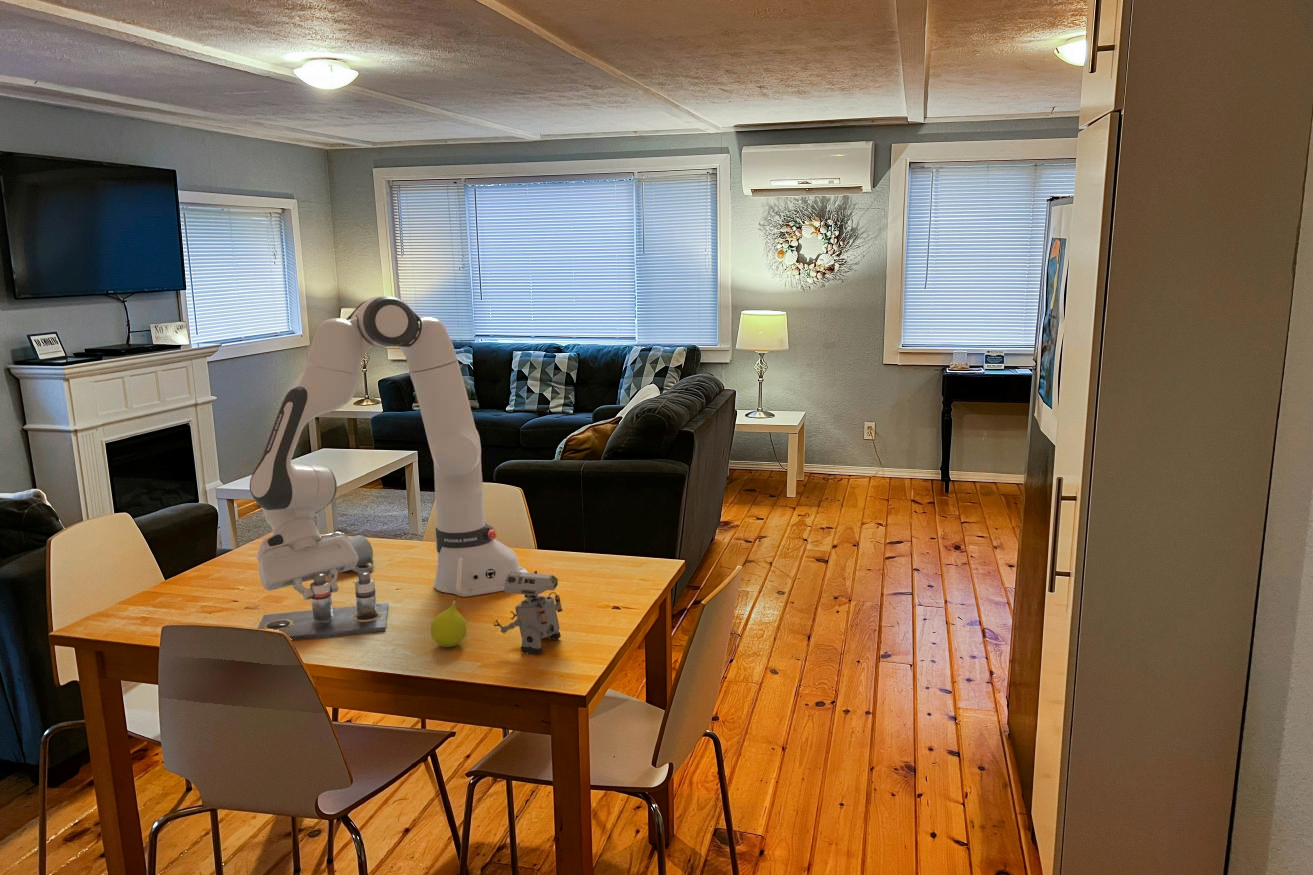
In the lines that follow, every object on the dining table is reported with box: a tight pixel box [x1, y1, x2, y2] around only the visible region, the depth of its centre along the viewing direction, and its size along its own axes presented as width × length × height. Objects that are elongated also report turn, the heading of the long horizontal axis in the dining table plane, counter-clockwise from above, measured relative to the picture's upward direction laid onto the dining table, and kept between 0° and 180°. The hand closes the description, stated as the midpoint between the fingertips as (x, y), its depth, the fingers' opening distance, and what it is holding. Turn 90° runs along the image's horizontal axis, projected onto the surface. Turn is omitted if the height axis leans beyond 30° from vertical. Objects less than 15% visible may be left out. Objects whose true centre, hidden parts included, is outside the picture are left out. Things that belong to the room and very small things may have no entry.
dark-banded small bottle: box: [354, 571, 377, 619], centre depth 199 cm, size 4×4×10 cm
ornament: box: [430, 594, 468, 648], centre depth 185 cm, size 7×7×10 cm
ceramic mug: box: [349, 534, 375, 574], centre depth 233 cm, size 11×8×8 cm
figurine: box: [493, 570, 563, 656], centre depth 185 cm, size 9×12×15 cm
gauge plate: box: [256, 602, 389, 642], centre depth 198 cm, size 26×14×1 cm, turn 103°
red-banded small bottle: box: [309, 573, 333, 621], centre depth 197 cm, size 4×4×10 cm
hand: (322, 594), depth 196 cm, fingers closed on red-banded small bottle, 4 cm apart
